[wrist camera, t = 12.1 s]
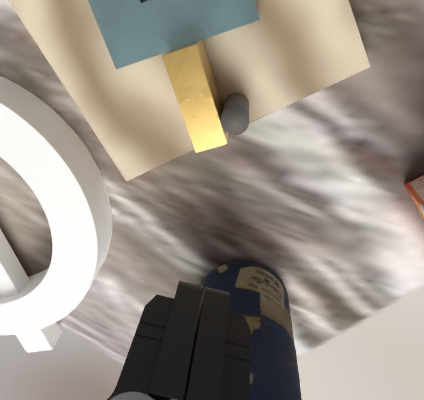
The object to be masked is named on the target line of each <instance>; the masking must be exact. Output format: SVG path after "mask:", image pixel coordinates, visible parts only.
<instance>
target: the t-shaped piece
mask: <svg viewBox="0 0 424 400" xmlns="http://www.w3.org/2000/svg"><path fill="white" fill-rule="evenodd" d="M88 2H89V4H90V7H91V9H92V12H93V14H94V17H95V19H96V22H97V24H98V26H99V29H100V31H101V34H102V36H103V39H104V41H105V44H106V46H107V48H108V51H109V53H110V56H111V58H112V61H113V63H114V66H115V68H116V69H119V68H122V67H125V66H128V65H131V64H134V63H137V62H139V61H142V60H145V59H148V58H151V57H154V56H157V55H160V54H163V53H166V52H167V53H166V54H164V55H162V59H163V62H164V65H165V67H166V70H167V73H168V76H169V79H170V81H171V84H172V87H173V90H174V93H175V95H176V98H177V101H178V104H179V107H180V109H181V112H182V115H183V118H184V121H185V124H186V126H187V129H188V132H189V135H190V138H191V140H192V143H193V146H194V149H195V152H196V153H197V152H200V151H204V150H208V149H211V148H215V147H218V146H222V145H225V144H227V142H228V136H229V134H228V133H227V132H225V131H224V130H223V128H222V126H221V123H220V119H221V115H222V111H223V104H222V101H221V97H220V94H219V91H218V88H217V84H216V81H215V78H214V75H213V71H212V68H211V65H210V62H209V58H208V55H207V52H206V49H205V45H204V42H203V39H206V38H209V37H212V36H215V35H218V34H221V33H224V32H227V31H230V30H232V29H235V28H238V27H241V26H244V25H247V24H250V23H253V22H256V21H259V20H260V19H259V15H258V11H257V7H256V3H255V0H148V1H145V2H144V0H88ZM168 51H169V52H168Z"/></svg>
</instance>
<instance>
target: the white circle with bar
mask: <svg viewBox="0 0 424 400" xmlns="http://www.w3.org/2000/svg"><path fill="white" fill-rule="evenodd" d="M0 157H1V158H3V159H4V160H5V161H6V162H7V163H8V164H9V165H11V166H12V167H13V168H14V169H15V170H16V171H17V172H18V173H19V174H20V175H21V177H22V178H23V179H24V180H25V181H26V183H27V184H28V185H29V186H30V188H31V189H32V191H33V192H34V193H35V195H36V197H37V198H38V200H39V202H40V204H41V205H42V207H43V210H44V212H45V214H46V217H47V219H48V222H49V226H50V230H51V235H52V244H53V250H52V259H51V263H50V267H48V268H47V269H45V270H44V271H42V272H40V273H37V274H35V275H32V276H27V274H26V273H25V271H24V269H23V267H22V266H21V264H20V262H19V260H18V259H17V257H16V255H15V253H14V252H13V250H12V248H11V246H10V245H9V243H8V241H7V240H6V238H5V236H4V234H3V233H2V231H1V229H0V335H16V336H17V338H18V339H19V341H20V342H21V344H22V346H23V347H24V349H25V350H26V352H27V353H29V352H37V351H45V350H52V349H53V348H54V346H55V344H56V342H57V340H58V339H59V337H60V335H61V334H62V332H61V330H60V329H59V327H58V325H57V323H56V322H57V321H59V320H61V319H62V318H64V317H65V316H66V315H68V314H69V313H70V312H71V311H72V310H73V309H74V308H75V307H76V306H77V305H78V304H79V303H80V302H81V300H82V299H83V298H84V296H85V294H86V293H87V291H88V289H89V288H90V286H91V284H92V282H93V280H94V279H95V277H96V275H97V273H98V271H99V270H100V268H101V266H102V264H103V262H104V260H105V258H106V256H107V253H108V250H109V246H110V242H111V236H112V211H111V204H110V199H109V195H108V192H107V188H106V185H105V182H104V180H103V177H102V175H101V173H100V170H99V168H98V166H97V164H96V162H95V161H94V159H93V157H92V155H91V154H90V152H89V151H88V149H87V148H86V146H85V145H84V143H83V142H82V140H81V139H80V138H79V137H78V135H77V134H76V133H75V132H74V130H73V129H72V128H71V127H70V126H69V125H68V124H67V123H66V122H65V121H64V120H63V119H62V118H61V117H60V116H59V115H58V114H57V113H56V112H55V111H54V110H53V109H52V108H51V107H49V106H48V105H47V104H46V103H44V102H43V101H42V100H41V99H39V98H38V97H36V96H35V95H34V94H32V93H31V92H29V91H28V90H26V89H24V88H23V87H21V86H19V85H18V84H16V83H14V82H12V81H10V80H8V79H6V78H4V77H2V76H0Z"/></svg>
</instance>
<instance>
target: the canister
mask: <svg viewBox="0 0 424 400" xmlns="http://www.w3.org/2000/svg"><path fill="white" fill-rule="evenodd" d="M201 286H203V292H202V297H203V293H204V289H205V287H208V288H212V289H216V290H221V291H225V292H229V293H230V298H229V310H228V311H229V312H234V313H238V314H242V315H244V316H245V319H246V321H247V323H248V325H249V328H250V330H251V346H250V400H302V399H301V391H300V380H299V373H298V365H297V358H296V350H295V346H294V338H293V331H292V322H291V316H290V308H289V301H288V294H287V291H286V288H285V286H284V284H283V282H282V281H281V279H280V278H279V277H278V276H277V274H275V273H274V272H273V271H271V270H270V269H268V268H267V267H265V266H262V265H260V264H257V263H252V262H233V263H228V264H224V265H222V266H220V267H218V268H216V269H215V270H213V271H212V272H211V273H210V274H209V275H208V276H207V277H206V278H205V279H204V281H203V283H202V285H201ZM201 300H202V298H201ZM200 304H201V303H200Z"/></svg>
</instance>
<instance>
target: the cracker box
mask: <svg viewBox="0 0 424 400" xmlns="http://www.w3.org/2000/svg"><path fill="white" fill-rule="evenodd" d="M405 187H406V189H407V191H408V192H409V194H410V196H411V198H412V200H413V201H414V203H415V205H416V207H417V209H418V211H419V213H420V214H421V216H422V218H423V220H424V175H422V176H420V177H418V178H416V179H414V180H412V181H410V182H408V183H406V184H405Z"/></svg>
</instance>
